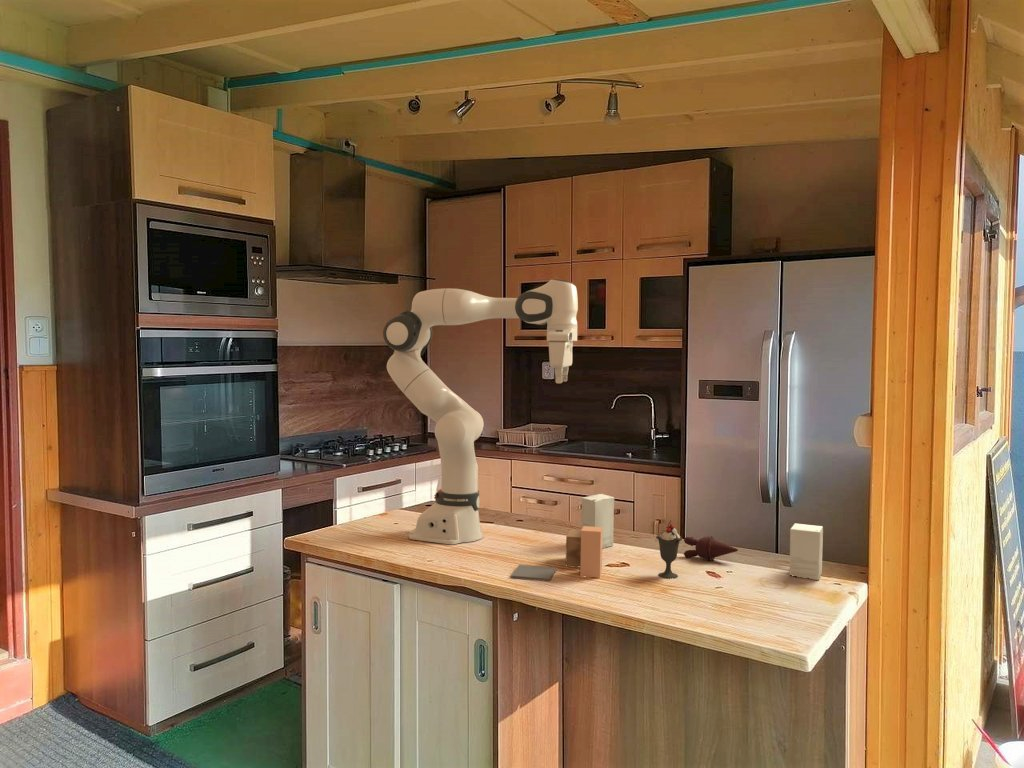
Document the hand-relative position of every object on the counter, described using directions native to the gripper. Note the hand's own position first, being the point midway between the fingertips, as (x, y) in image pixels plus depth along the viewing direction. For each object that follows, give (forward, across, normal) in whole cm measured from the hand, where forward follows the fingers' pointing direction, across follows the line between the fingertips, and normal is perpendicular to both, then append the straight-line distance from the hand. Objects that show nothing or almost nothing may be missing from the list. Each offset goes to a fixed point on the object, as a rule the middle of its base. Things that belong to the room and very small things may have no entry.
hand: (561, 382), depth 231 cm
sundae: (+48, +24, +32) cm, 63 cm away
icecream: (+48, +6, +43) cm, 65 cm away
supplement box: (+48, +14, +67) cm, 84 cm away
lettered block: (+48, +18, +9) cm, 52 cm away
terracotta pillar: (+48, +28, +13) cm, 57 cm away
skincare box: (+48, 0, +11) cm, 50 cm away
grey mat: (+48, +31, -2) cm, 57 cm away
